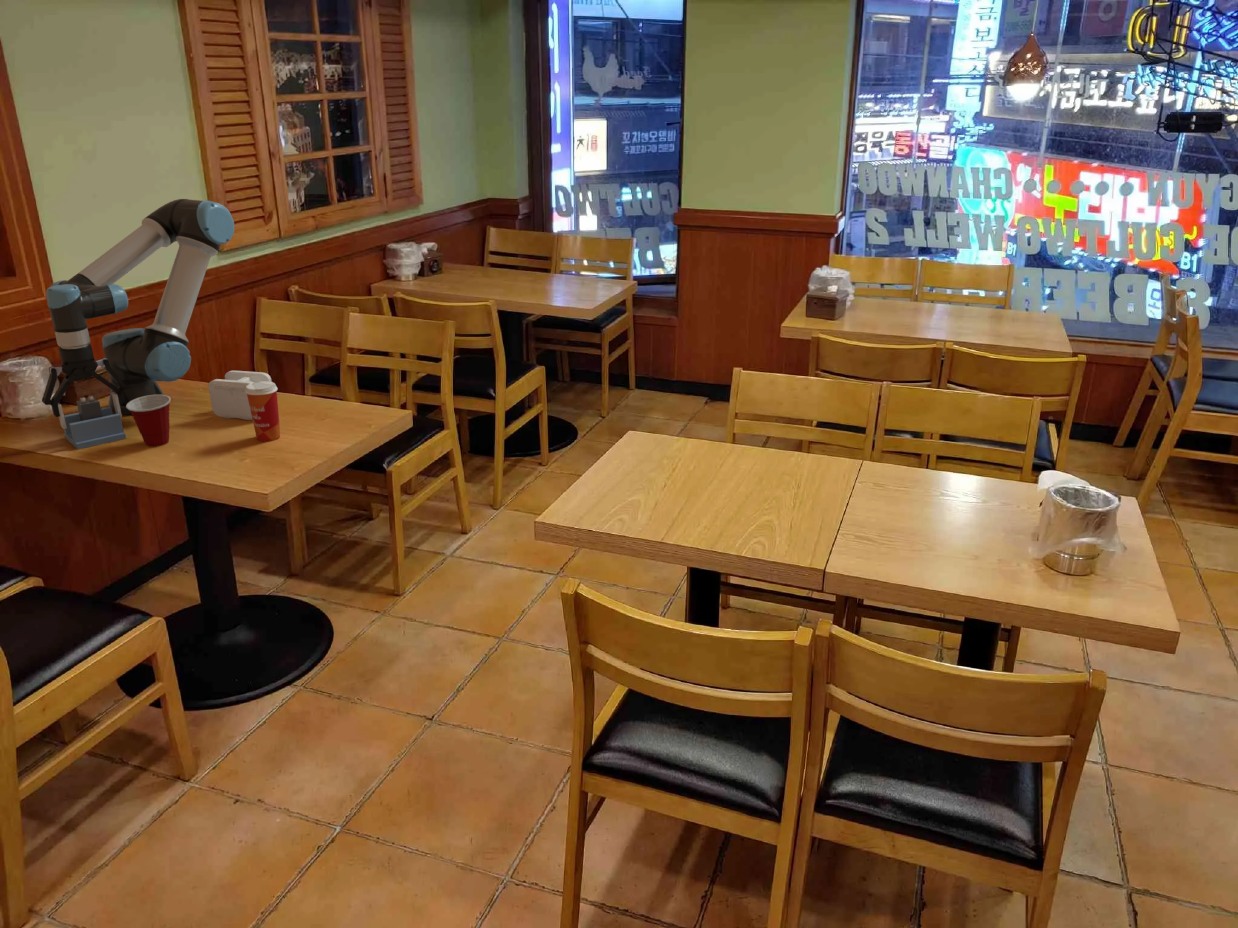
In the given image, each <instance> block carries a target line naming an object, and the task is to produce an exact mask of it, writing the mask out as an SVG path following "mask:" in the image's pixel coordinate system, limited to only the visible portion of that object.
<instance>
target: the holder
mask: <svg viewBox="0 0 1238 928" xmlns="http://www.w3.org/2000/svg"><path fill="white" fill-rule="evenodd" d="M101 411H102V416H103V417H99V418H94V419H90V420H85V421H81V420H80V416H79V412H75V413H70V414H65V415H64V418H65V422H66V426H67V429H63V430H64V432H63V433H64V437H65V439H66V441H68V442H70V444H71V445H72V446H73V447H74V448H75V449H76V450H82V449H87V448H90V447H95V446H99V445H105V444H109V443H112V442H119V441H123V440H126V439H127V436H126V435H127V434H126V433H125V431H124V427H123V423H122V422H123V421H122V417H120V415H119V414H115V413H112V409H111V407H110V406H109V405H108V406H104V407H101Z"/></svg>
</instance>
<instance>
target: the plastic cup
mask: <svg viewBox="0 0 1238 928" xmlns="http://www.w3.org/2000/svg"><path fill="white" fill-rule="evenodd" d="M171 399H172V398H171V397H170V396H169V395H166V394H164V395H148V396H143V397H139V398H136V399H134V400H132V401H130V402H129V403H127V405H126V408H127V409H128V410H129V411H130V412H131V414H130V415H131V416H132V417H133V420H134V421H135V424H136V427H137V429H138V431H139V433H140V435H141V438H142V440H143V442H144V444H145V446H147V447H149V448H150V447H161V446H165V445H167V444H168V443H169V442H170V403H171Z"/></svg>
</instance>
